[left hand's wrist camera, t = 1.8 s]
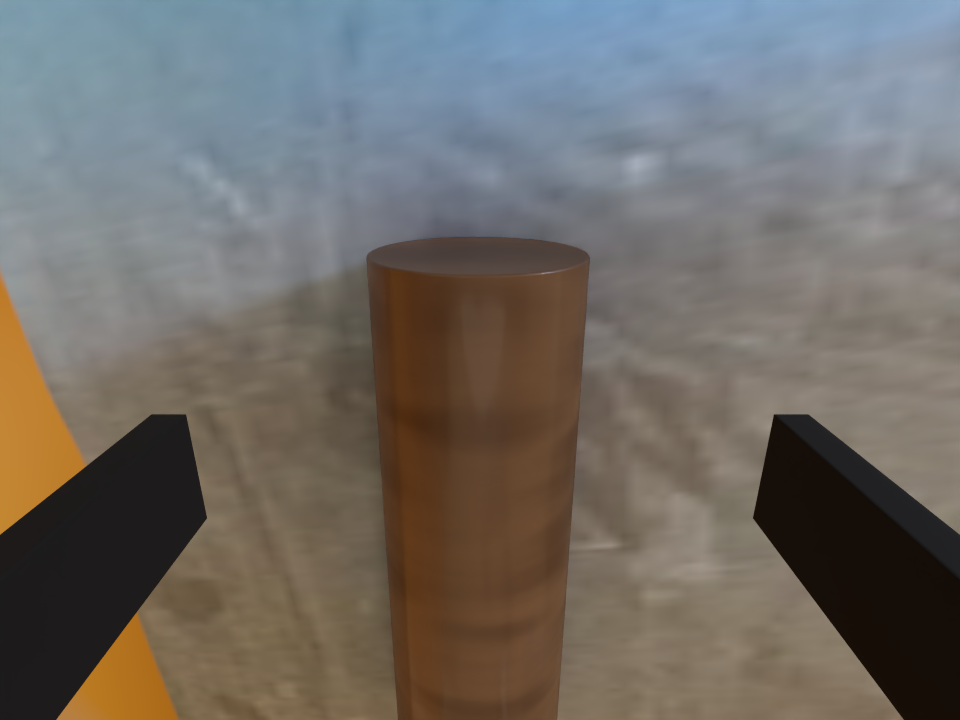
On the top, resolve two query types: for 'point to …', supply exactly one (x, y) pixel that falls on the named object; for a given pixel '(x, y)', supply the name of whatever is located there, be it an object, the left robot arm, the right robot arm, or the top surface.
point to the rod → (477, 466)
